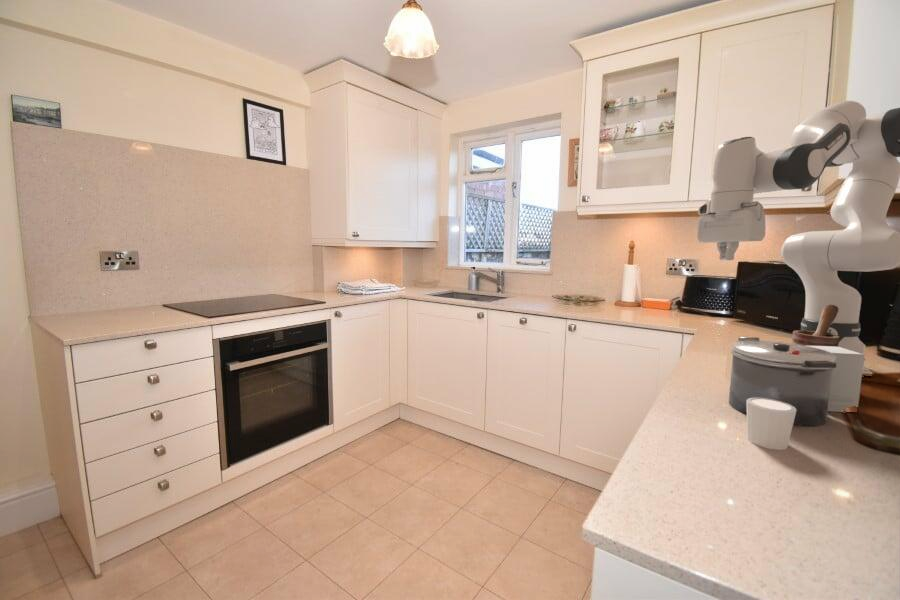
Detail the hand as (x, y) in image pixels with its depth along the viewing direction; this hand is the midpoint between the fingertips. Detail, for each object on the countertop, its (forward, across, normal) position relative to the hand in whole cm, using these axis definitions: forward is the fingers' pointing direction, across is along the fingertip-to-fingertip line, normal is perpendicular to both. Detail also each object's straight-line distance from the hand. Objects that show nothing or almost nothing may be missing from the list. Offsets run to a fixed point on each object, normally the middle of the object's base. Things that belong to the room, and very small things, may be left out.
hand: (726, 260), depth 103 cm
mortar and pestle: (+31, -4, -21) cm, 38 cm away
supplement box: (+31, -19, -11) cm, 38 cm away
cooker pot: (+31, -22, +2) cm, 38 cm away
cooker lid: (+19, -22, +2) cm, 29 cm away
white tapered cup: (+31, -36, +15) cm, 50 cm away
